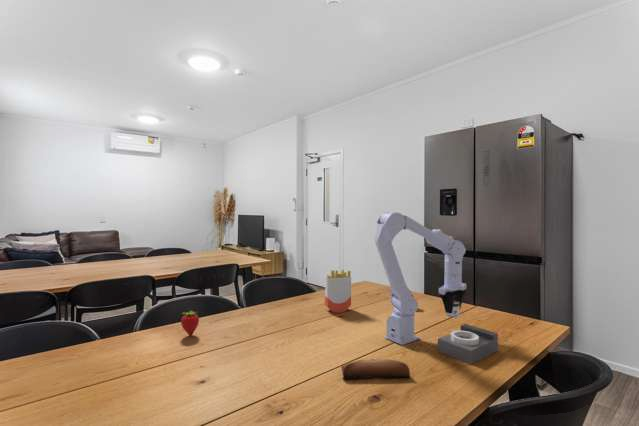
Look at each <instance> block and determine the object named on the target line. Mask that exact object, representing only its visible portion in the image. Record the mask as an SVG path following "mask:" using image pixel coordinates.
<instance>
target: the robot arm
mask: <svg viewBox="0 0 639 426" xmlns="http://www.w3.org/2000/svg"><path fill="white" fill-rule="evenodd" d="M375 222H376V230H375V234H374V235H375V236H374V242H375V245H376V248H377V251H378V254H379V257H380V260H381V263H382V266H383V268H384V269H383V270H384V272H385V274H386V277H387V279H388V282H389V286H390V289H389V292H390V303H391V305H392V306H393V309H392V313H391V315H389V316H388V317H387V318H386V333H385V335H384V339H387V340H389V341H392V342H393V343H396V344H399V345H402V346H403V345H406V344H410V343H411V342H414V341H417V340H420V336H417V335H416V334H415V314H416V312H417V311H418V308H419V303H418V301H417V299H416V298H415V296H414V295H413V294H412V291H411V290H410V289H409V287H408V286H407V284H406V281H405V278H404V275H403V272H402V269H401V267H400V263H399V260H398V258H397V254H396V251H395V249H394V246H393V241H394V239H395V237H396V236H398V234H399V233H400V232H401V231H403V230H405V231H406V230H408V231H411V232H413V233H414V234H417V235H418V236H421V237H422V238H425V240H426V243H427V244H428V245H430V246H432V247H433V248H435V249H438V250H439V251H441V252H442V254H444V285H441V286H440V287H439V288H438V295H439V296H440V298H441V300H442V303H443V307H444V311H445V314H446V313H450V314H451V313H452V311H453V303H454V300H456V301H459V303H460V306H459V312H460V311H461V309H462V304H463V301H464V299H465V296H466V295H467V291H466V290H467V283H464V282H462V281H463V280H462V279H463V276H462V275H463V262H462V261H463V257H464V255H465V254H466V250H467V248H466V247H465V245H464V243H463V242H462V241H460V240H457V239H456V240H455V239H454V236H452V235H447V234H445V233H443V229H439V228H438V229H436V228H434V229H432V230H431V229H429V228H427V227H426V226H424V225H423V224H421V223H419V221H416V220H414V219H413V218H411V217H409V216H407V215H404V214H402V213H400V212H388V211H385V212H383V213H382V214H380V216H379V217H378V219H377V220H376V221H375ZM412 295H413V296H414V297H413V296H412Z"/></svg>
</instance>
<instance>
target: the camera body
mask: <svg viewBox="0 0 639 426" xmlns="http://www.w3.org/2000/svg"><path fill="white" fill-rule="evenodd" d="M498 341H499V333H498V332H494V331H491V330H489V329H488V330H487V329H484V328H480V327H477V326H473V325H471V324H467V323H463V324H461V325H460V329H459V330H452V331H451V332H450V333H448V334H446V335H444V336H441V337H439V338H437V352H438V353H441V354H443V355H445V356H448V357H451V358H453V359H457V360H459V361H461V362H464V363H466V364H469V365H473V364H475V363H477V362H478V361H480V360H482V359H484V358H486V357H488V356H490V355H492V354H494V353H496V352H498V349H499V343H498Z"/></svg>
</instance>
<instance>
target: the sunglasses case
mask: <svg viewBox="0 0 639 426" xmlns="http://www.w3.org/2000/svg"><path fill="white" fill-rule="evenodd" d="M340 368H341V372H342V373H341V374H342V380H352V379H360V378H362V379H363V378H383V377H386V378H387V377H388V378H393V377H406V378H407V377H408V378H410V376H411V373H410V368H409V365H408V364H407V363H405V362H403V361H400V360H396V359H390V358H389V359H387V358H386V359H385V358H383V359H382V358H379V359H375V358H370V359H359V360H355V361H353V362H348V363H344V364H342V365H341V366H340Z"/></svg>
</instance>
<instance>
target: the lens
mask: <svg viewBox="0 0 639 426" xmlns="http://www.w3.org/2000/svg"><path fill="white" fill-rule="evenodd" d="M459 306H460V303H459V301H456V300H454V303H453V311H452V313H451V314H450V313H446V312H445V316H446V317H448V318H460V311H459Z"/></svg>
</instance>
